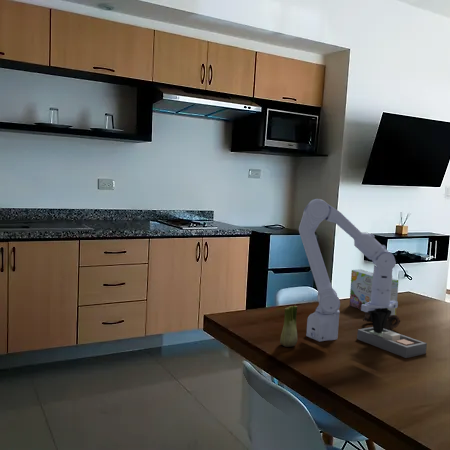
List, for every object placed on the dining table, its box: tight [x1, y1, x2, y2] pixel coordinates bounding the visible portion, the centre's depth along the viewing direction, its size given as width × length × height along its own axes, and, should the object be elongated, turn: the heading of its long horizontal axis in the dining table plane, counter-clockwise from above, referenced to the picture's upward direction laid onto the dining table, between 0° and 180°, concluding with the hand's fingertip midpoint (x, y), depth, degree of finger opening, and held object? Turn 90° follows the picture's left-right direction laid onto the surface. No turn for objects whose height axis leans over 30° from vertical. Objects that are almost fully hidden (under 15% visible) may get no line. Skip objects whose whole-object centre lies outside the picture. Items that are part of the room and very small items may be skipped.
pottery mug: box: [362, 312, 401, 331], centre depth 167 cm, size 12×10×8 cm
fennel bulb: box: [279, 305, 298, 348], centre depth 145 cm, size 6×5×12 cm
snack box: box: [349, 268, 399, 320], centre depth 191 cm, size 21×6×15 cm, turn 25°
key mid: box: [382, 330, 400, 342], centre depth 147 cm, size 4×4×2 cm
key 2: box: [396, 339, 414, 346], centre depth 143 cm, size 4×4×2 cm
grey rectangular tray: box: [356, 326, 428, 359], centre depth 147 cm, size 9×18×4 cm, turn 33°
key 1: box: [369, 330, 383, 337], centre depth 152 cm, size 4×4×2 cm
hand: (377, 332), depth 151 cm, fingers closed, pressing on key 1
